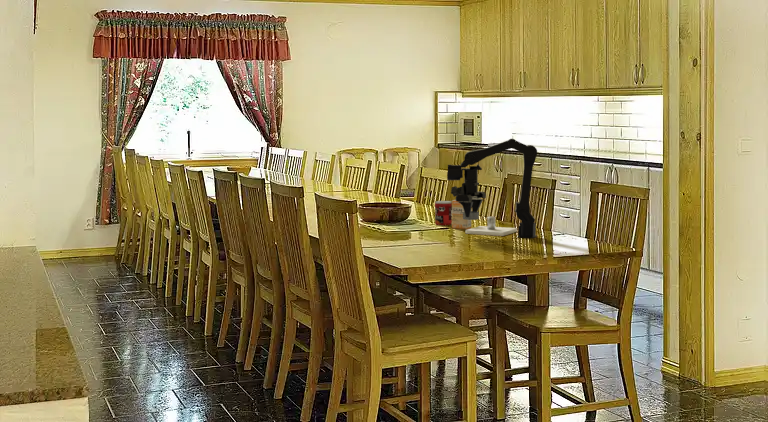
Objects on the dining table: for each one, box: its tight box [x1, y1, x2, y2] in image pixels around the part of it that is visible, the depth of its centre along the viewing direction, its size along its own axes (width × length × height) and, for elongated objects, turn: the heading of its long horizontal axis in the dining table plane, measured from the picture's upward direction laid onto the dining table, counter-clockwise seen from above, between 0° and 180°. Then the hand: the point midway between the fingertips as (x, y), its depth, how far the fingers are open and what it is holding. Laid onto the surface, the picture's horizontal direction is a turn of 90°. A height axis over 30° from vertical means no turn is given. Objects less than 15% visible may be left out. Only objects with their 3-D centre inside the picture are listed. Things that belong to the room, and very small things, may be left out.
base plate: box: [464, 225, 518, 237], centre depth 425 cm, size 18×16×2 cm
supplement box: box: [451, 199, 472, 230], centre depth 439 cm, size 8×5×13 cm, turn 62°
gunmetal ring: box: [463, 210, 480, 221], centre depth 410 cm, size 7×7×3 cm
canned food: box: [434, 200, 452, 226], centre depth 454 cm, size 8×8×11 cm
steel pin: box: [486, 216, 496, 230], centre depth 424 cm, size 4×4×6 cm
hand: (470, 216), depth 410 cm, fingers closed on gunmetal ring, 7 cm apart
